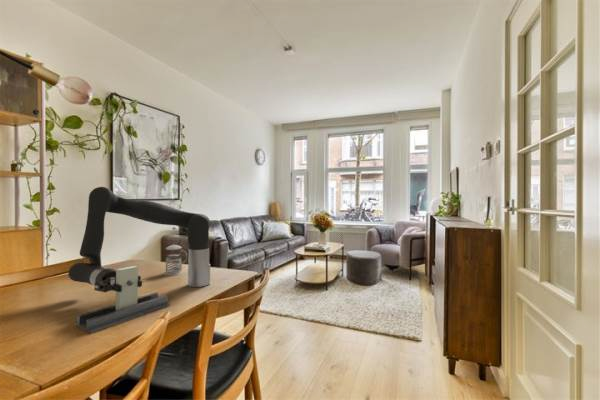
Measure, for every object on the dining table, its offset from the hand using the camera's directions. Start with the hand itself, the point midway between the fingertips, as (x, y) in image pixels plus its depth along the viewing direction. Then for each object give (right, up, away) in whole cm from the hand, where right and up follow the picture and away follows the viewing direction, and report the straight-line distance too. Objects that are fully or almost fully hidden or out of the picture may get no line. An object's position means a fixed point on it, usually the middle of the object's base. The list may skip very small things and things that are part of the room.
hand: (131, 286), depth 96 cm
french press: (-10, -10, +57) cm, 58 cm away
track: (-2, -10, +1) cm, 11 cm away
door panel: (-2, -8, +1) cm, 8 cm away
